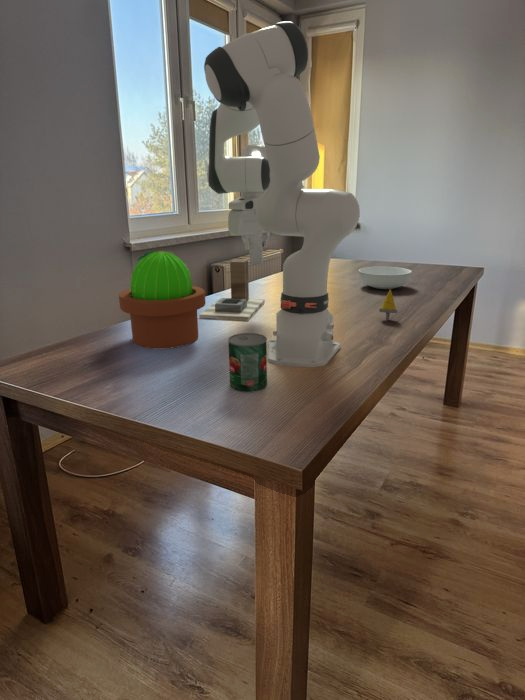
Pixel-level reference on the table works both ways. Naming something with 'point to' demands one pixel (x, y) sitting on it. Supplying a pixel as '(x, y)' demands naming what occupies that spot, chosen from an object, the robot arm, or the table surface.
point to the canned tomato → (248, 362)
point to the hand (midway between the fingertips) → (256, 248)
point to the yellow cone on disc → (388, 305)
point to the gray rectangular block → (256, 248)
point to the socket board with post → (235, 297)
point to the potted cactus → (162, 302)
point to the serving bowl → (384, 277)
